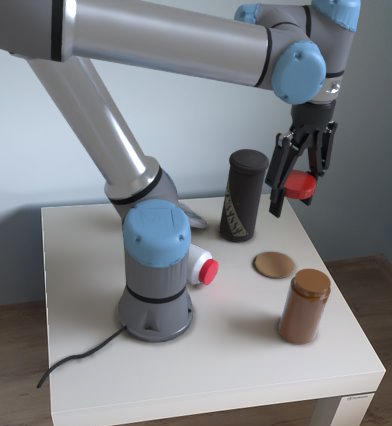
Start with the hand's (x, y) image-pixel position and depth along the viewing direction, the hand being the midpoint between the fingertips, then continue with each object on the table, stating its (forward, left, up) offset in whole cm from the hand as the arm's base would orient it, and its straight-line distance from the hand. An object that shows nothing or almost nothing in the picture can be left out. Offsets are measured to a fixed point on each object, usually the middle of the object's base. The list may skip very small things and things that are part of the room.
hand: (289, 208), depth 109 cm
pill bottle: (-21, +13, -12) cm, 27 cm away
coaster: (0, +1, -16) cm, 16 cm away
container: (0, +15, -16) cm, 22 cm away
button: (-5, +25, -15) cm, 29 cm away
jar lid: (0, 0, +6) cm, 6 cm away
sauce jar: (-10, -17, -16) cm, 26 cm away
